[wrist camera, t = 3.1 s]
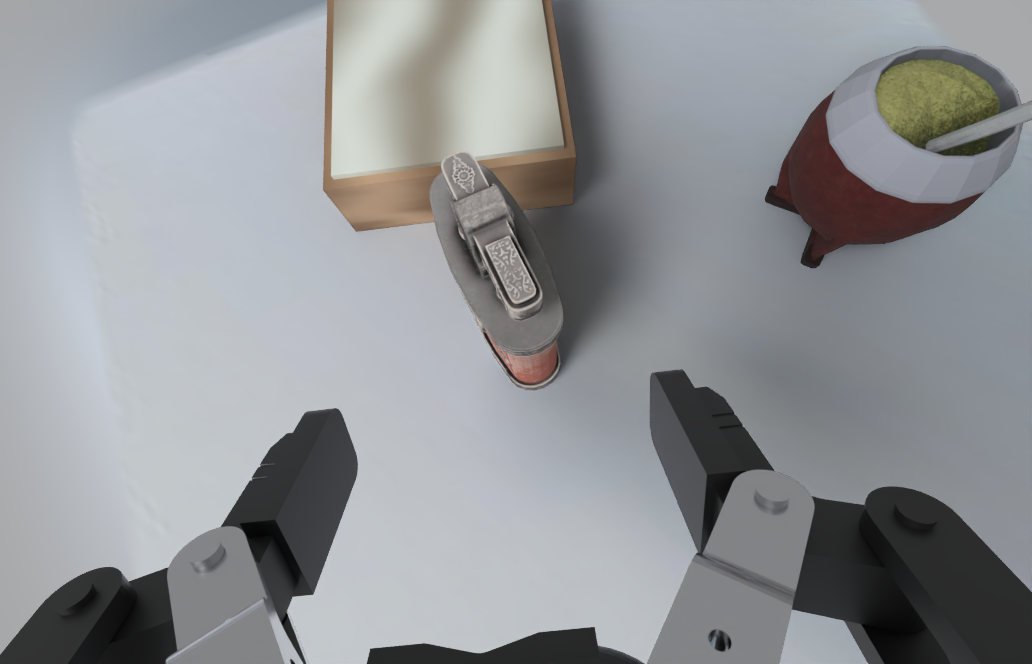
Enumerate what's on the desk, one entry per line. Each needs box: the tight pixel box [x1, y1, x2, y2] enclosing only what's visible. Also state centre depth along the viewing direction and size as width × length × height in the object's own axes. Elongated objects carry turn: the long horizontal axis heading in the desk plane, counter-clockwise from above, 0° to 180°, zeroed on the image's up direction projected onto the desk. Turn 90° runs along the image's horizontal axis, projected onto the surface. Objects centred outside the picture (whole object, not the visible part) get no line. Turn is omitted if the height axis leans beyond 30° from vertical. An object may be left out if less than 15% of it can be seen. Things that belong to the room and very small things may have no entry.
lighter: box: [429, 151, 563, 390], centre depth 20 cm, size 8×3×10 cm, turn 25°
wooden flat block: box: [323, 0, 576, 231], centre depth 26 cm, size 12×13×4 cm
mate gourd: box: [765, 46, 1032, 268], centre depth 18 cm, size 8×8×15 cm
